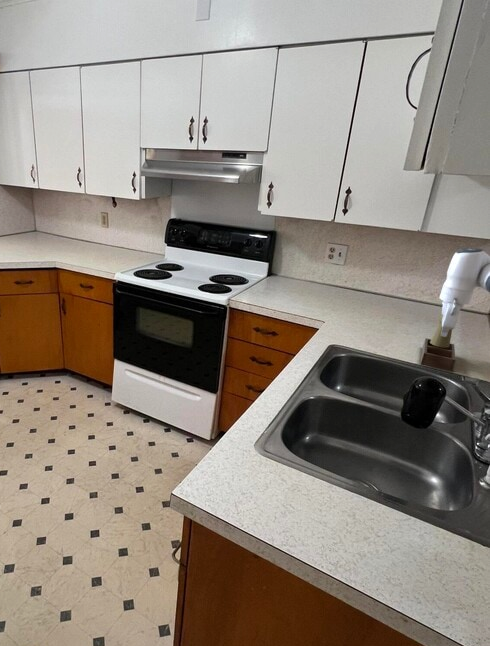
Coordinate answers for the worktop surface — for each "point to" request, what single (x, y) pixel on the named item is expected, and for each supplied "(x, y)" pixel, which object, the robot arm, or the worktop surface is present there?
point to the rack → (438, 356)
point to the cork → (439, 339)
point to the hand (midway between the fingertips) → (443, 333)
